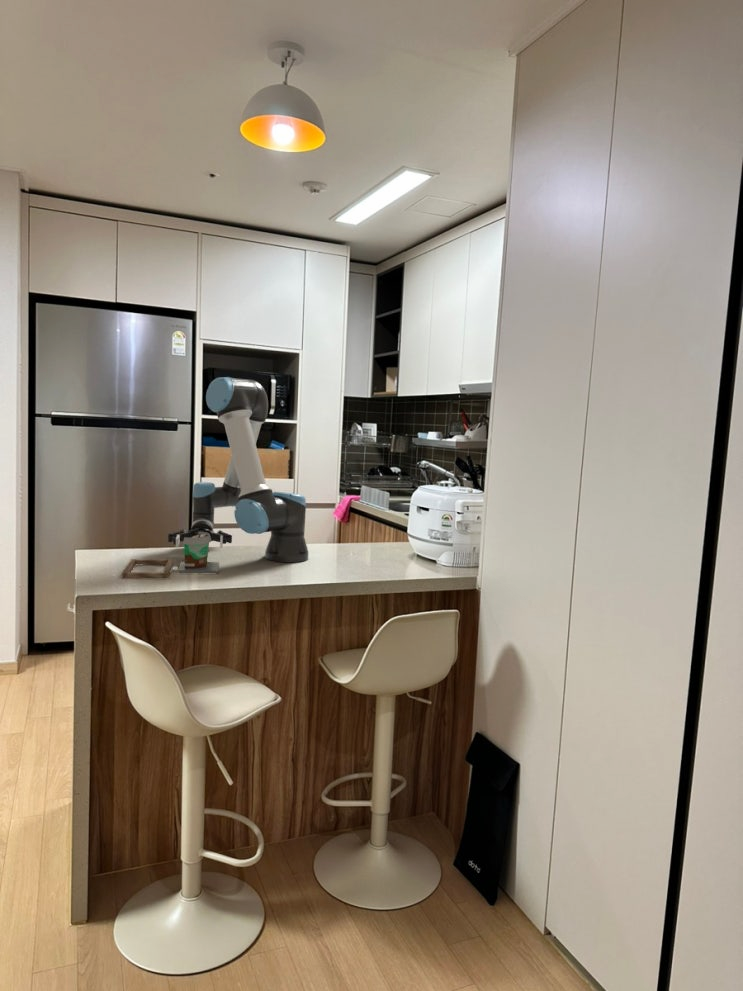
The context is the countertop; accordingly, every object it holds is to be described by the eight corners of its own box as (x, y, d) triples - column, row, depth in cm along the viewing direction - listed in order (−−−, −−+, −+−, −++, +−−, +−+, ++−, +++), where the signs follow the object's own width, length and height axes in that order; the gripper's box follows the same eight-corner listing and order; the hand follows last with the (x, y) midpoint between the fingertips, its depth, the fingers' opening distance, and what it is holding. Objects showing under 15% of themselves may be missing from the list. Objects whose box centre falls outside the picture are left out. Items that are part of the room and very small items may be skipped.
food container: (201, 571, 212) (202, 539, 211) (182, 569, 213) (183, 537, 212) (216, 562, 224) (217, 532, 223) (198, 561, 225) (199, 531, 224)
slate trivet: (219, 565, 226) (219, 562, 226) (218, 573, 214) (218, 570, 214) (181, 564, 223) (181, 561, 223) (178, 573, 212) (178, 570, 212)
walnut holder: (173, 564, 223) (173, 559, 223) (167, 578, 205) (167, 573, 205) (131, 563, 221) (131, 559, 221) (122, 578, 202) (122, 573, 202)
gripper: (238, 542, 241) (239, 555, 220) (164, 541, 235) (157, 554, 215) (239, 521, 240) (239, 532, 219) (164, 519, 235) (158, 530, 214)
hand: (199, 543), depth 217 cm, fingers open, 13 cm apart
